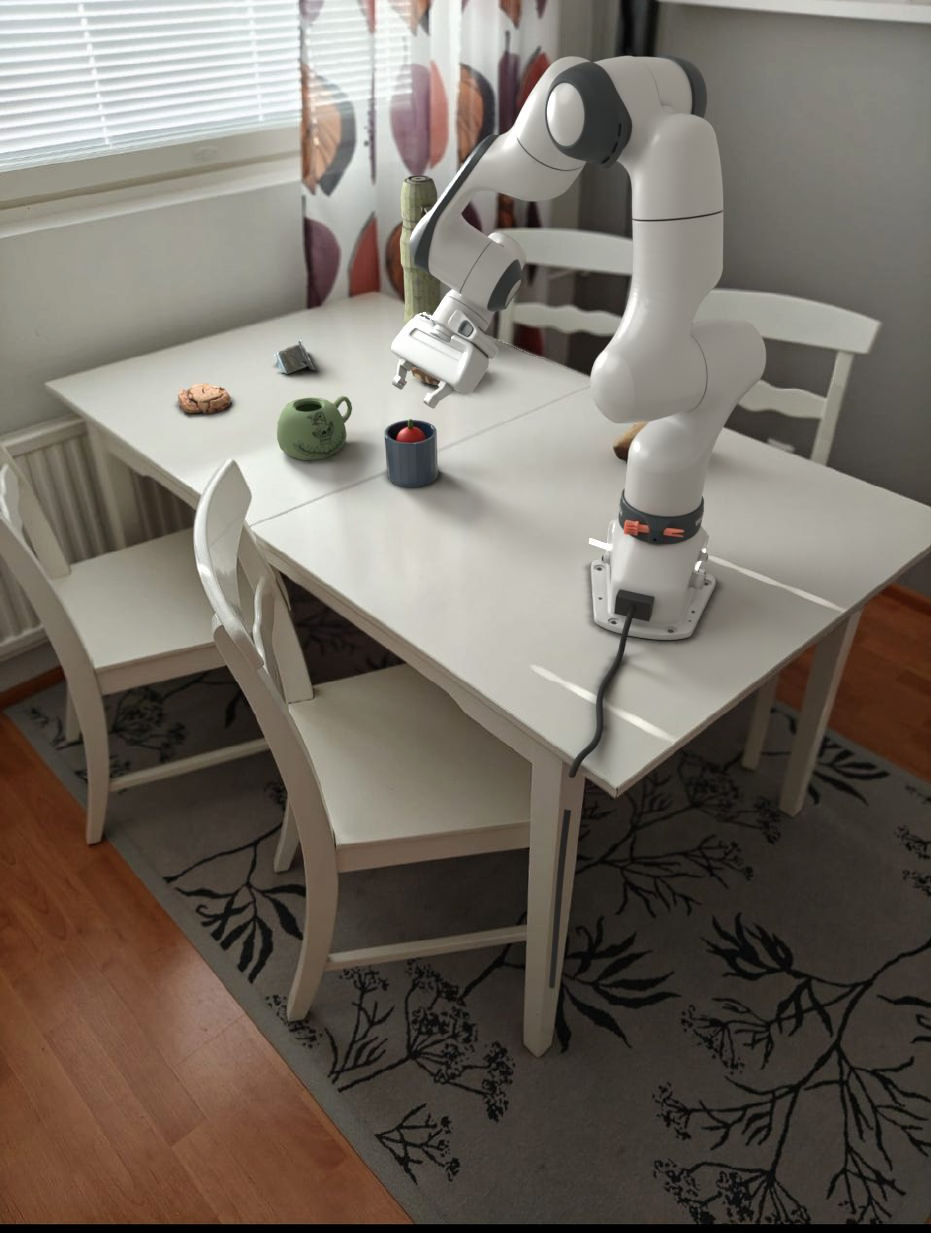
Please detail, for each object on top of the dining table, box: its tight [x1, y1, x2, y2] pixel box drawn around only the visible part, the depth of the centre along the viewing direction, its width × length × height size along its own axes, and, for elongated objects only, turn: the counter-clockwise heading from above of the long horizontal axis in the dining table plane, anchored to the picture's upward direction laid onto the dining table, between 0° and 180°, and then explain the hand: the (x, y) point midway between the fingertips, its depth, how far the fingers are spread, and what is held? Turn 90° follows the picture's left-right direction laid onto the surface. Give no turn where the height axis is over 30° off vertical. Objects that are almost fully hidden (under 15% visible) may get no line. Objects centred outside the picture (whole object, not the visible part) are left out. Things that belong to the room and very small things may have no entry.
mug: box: [276, 395, 353, 461], centre depth 184 cm, size 16×13×9 cm
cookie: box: [177, 382, 232, 414], centre depth 200 cm, size 10×11×3 cm
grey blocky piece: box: [274, 337, 316, 375], centre depth 214 cm, size 10×7×12 cm
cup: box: [384, 419, 439, 488], centre depth 175 cm, size 9×9×8 cm
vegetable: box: [612, 422, 649, 461], centre depth 180 cm, size 16×11×10 cm
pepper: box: [396, 418, 426, 443], centre depth 174 cm, size 5×5×10 cm
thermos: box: [399, 174, 442, 328], centre depth 215 cm, size 9×12×35 cm
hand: (411, 396), depth 169 cm, fingers open, 8 cm apart
